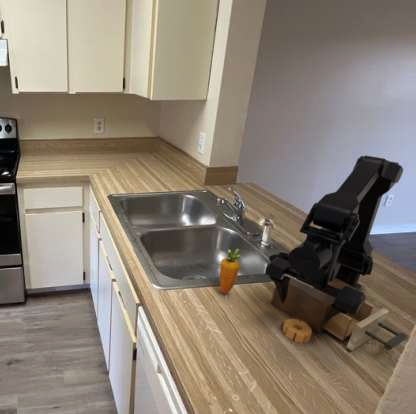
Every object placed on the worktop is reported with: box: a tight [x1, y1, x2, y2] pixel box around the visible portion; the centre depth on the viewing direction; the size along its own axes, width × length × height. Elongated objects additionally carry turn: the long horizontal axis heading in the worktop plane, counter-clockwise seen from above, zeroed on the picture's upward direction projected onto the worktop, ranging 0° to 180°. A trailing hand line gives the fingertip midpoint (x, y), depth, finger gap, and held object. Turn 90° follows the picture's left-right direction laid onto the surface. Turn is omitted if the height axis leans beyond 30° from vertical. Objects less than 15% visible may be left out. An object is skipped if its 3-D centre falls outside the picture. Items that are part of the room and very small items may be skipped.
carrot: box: [219, 248, 242, 295], centre depth 92 cm, size 5×5×15 cm
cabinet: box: [270, 277, 359, 334], centre depth 87 cm, size 13×13×9 cm
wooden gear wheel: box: [282, 317, 313, 344], centre depth 81 cm, size 6×6×2 cm
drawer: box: [322, 300, 408, 351], centre depth 79 cm, size 17×12×7 cm
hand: (302, 312), depth 78 cm, fingers open, 9 cm apart
